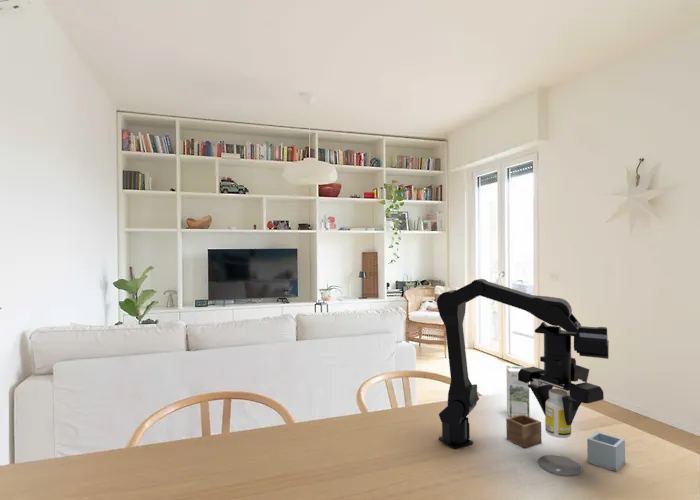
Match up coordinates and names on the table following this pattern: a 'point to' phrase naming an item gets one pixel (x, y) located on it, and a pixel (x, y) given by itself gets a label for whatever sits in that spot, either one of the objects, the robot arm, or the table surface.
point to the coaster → (559, 465)
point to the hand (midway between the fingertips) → (557, 420)
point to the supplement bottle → (556, 415)
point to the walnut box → (523, 430)
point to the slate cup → (606, 451)
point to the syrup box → (516, 393)
